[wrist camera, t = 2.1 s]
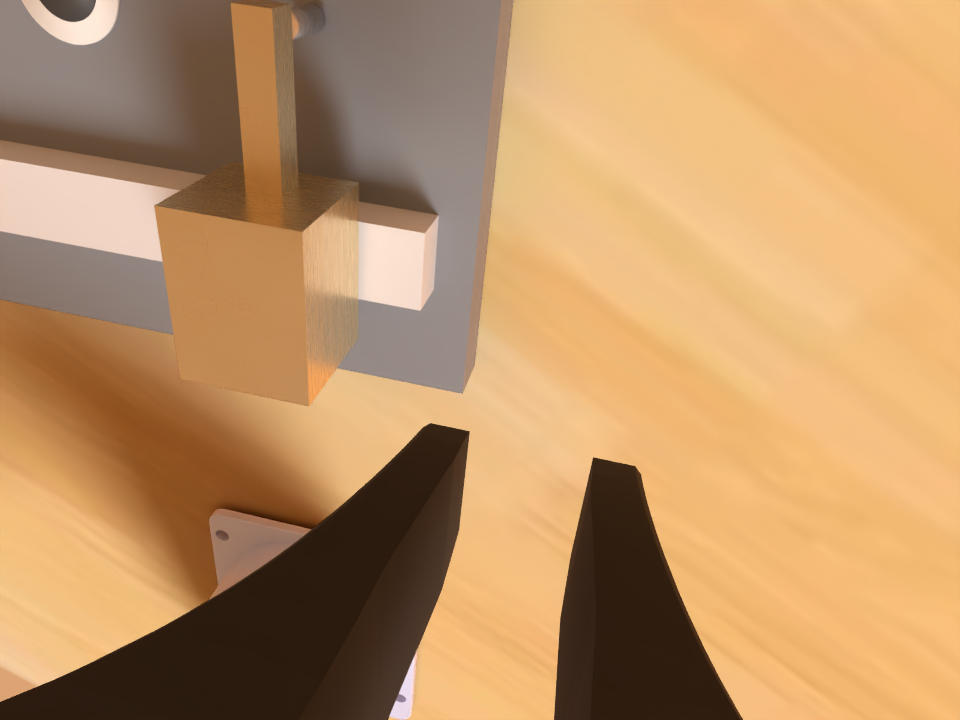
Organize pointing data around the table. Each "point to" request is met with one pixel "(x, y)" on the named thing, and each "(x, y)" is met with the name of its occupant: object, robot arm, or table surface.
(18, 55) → the plate
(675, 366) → the table surface
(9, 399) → the table surface
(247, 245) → the sliding trammel head
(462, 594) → the table surface
